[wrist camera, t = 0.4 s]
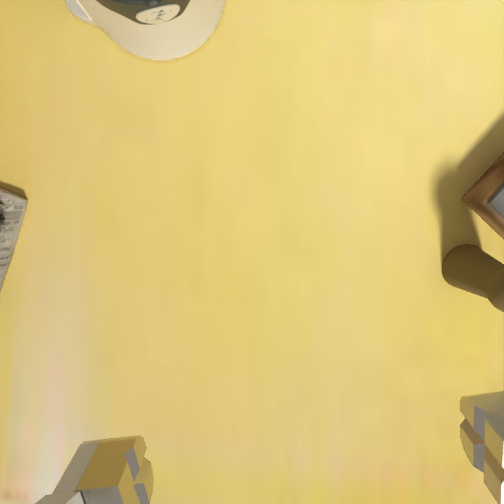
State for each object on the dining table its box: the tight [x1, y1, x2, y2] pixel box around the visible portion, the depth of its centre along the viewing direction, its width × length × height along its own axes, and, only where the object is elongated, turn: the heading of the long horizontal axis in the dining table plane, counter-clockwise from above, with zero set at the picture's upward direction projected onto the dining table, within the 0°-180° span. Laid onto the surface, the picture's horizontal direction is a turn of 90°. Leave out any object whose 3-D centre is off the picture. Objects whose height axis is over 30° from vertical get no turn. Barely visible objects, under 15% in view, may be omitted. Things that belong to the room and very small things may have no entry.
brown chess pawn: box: [442, 244, 504, 312], centre depth 48 cm, size 6×6×11 cm
